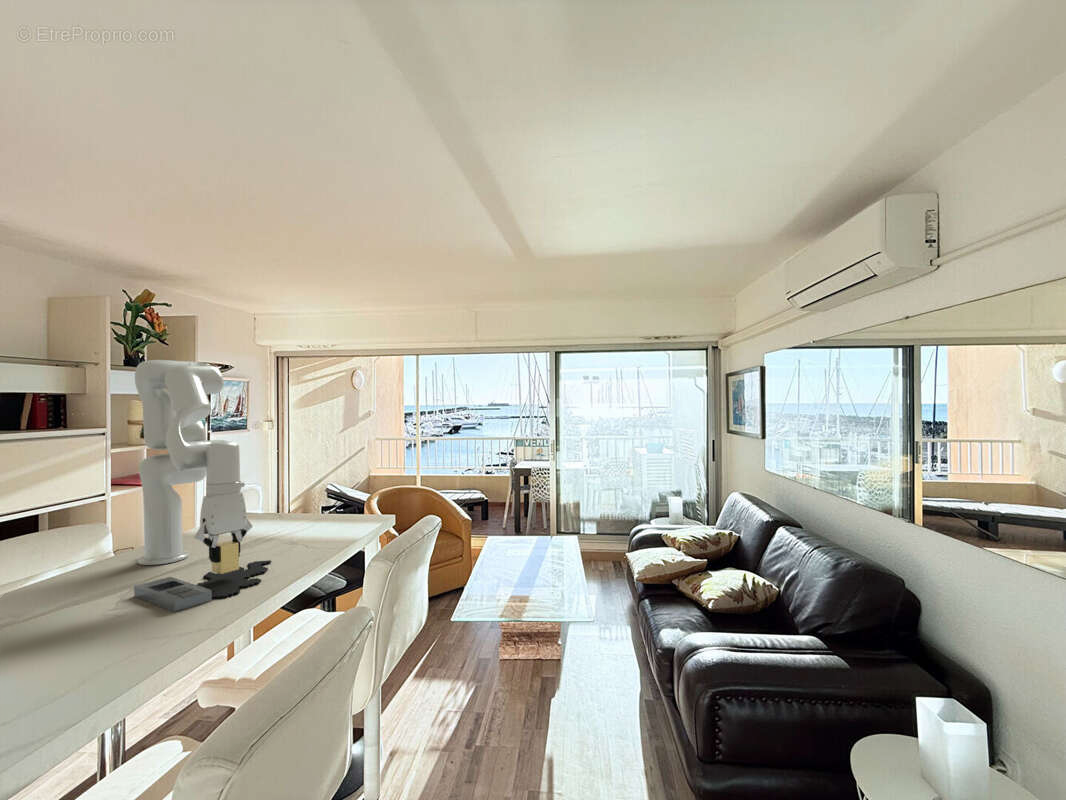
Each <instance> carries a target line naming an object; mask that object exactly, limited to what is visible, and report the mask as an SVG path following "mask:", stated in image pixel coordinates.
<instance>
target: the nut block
mask: <svg viewBox="0 0 1066 800" xmlns="http://www.w3.org/2000/svg"><path fill="white" fill-rule="evenodd" d="M217 547H219V562H218V563H214V562H211V572H212V573H215V574H216V573H219V574H223V573H227V572H231V571H234V570H238V569H239V567H240V557H239V547H238V542H234V541H232V540H225V541H221V542H218V543H217Z"/></svg>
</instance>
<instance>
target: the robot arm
mask: <svg viewBox="0 0 1066 800" xmlns="http://www.w3.org/2000/svg"><path fill="white" fill-rule="evenodd" d="M134 384H135V387H136V390H137V393H138V395H139V398H140V402H141V404H142V419H143V421H142V423H143V425H142V426H143V439H144V444H145V446H146V448H147V449H150V450H153V451H161V450H164V451H166V450H167V451H168V453H163V454H155V455H154V454H153V455H150V456H147V457H146V458H144V459H143V460H142V461H141V462H140V464H139V466H138V473H139V479H140V483H141V489H142V497H143V498H142V499H143V536H144V537H143V543H144V545H143V548H144V549H143V550H144V553H143V554H144V555H143V556H140V557H139V558H138V560H137V563H138V564H139V565H140V566H141V565H142V566H157V565H164V564H171V563H175V562H179V561H182V560H184V559H186V558H188V557H189V556H190V555H189V554H190V552H189V551H188V550H184V549H183V548H184V547H183V504H182V503H183V502H182V501H183V500H182V497H181V496H180V494H179V493H178V492H177V490H175V489H174V488H173V486H177V485H184V484H192V483H197V482H201V481H203V480H204V479H205V478H206V495H205V496H203V498H202V501H201V507H200V515H199V529H198V530H197V531H196V533H195V535H194V536H193V537H194V539H195V540H197V541H199V542H202V543H203V544H204V545H206V547H208V558H209V560H210V562H211V563H212V562H214V563H218V562H219V547H217V543H219V542H218V541H219V538H220V536H221V535H225V534H230V535H231V539H232V540H231V541H234V542H238V547H239V558H240V553H241V542H242V541H243V539H244V537H245V536H246V534H247V533H248V532H249V531H250V530H251V529H252V528H253V524H252V522H250V521H249V519H248V517H247V507H246V501H245V496H244V493H243V492H241V491H242V490H241V489H242V488H245V485H246V484H245V482H241V470H240V469H241V463H240V462H241V461H240V457H241V456H240V445H239V444H238V442H237V441H227V440H223V439H214V440H207V433H206V428H205V426H204V423H203V422H202V421H203V420H204V419H206V418H208V416H209V415H210V413H211V412H212V406H211V403H210V400H209V398H208V396H207V395H217V394H219V393H220V392H221V391H222V390H223V388H224V377H223V374H222V372H221V371H220V370H219V369H218V368H217V367H216V366H214V365H212V364H207V363H204V362H200V361H189V360H173V359H172V360H169V359H167V360H166V359H152V360H151V359H150V360H144V361H141V362H140V363H139V364H138V365H137V366H136V368H135V373H134ZM166 389H167V390H166ZM205 535H207V537H206V536H205Z"/></svg>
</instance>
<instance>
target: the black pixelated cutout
mask: <svg viewBox="0 0 1066 800" xmlns="http://www.w3.org/2000/svg"><path fill="white" fill-rule="evenodd" d="M271 563H272V560H271V559H269V560H259V561H258V560H257V561H253V562H248V564H247V565H246V566H247V568H246V569H245V567H242V566H239V569H238V570H234V571H231V572H227V573H223V574H219V573H216V572H212V571H208V572H207V573H206V574H204V575H203V576H202V578H203V580H204V581H203V582H199V583H196V585H198V586H201V587H204V588H207V589H210V590H212V601H213V600H223V599H224V600H225V599H228V598H230V597H231V598H232V597H234V596H238V595H239V594H241V589H249V588H251V587H252V588H253V587H255V586H259V585H260V583H262V578H258V577H256V576H260V575H265V574H266V573H267V572H268V571H269V567H266V566H267V565H271ZM205 580H206V581H205Z"/></svg>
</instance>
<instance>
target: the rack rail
mask: <svg viewBox="0 0 1066 800" xmlns="http://www.w3.org/2000/svg"><path fill="white" fill-rule="evenodd" d="M133 597H135V598H138V599H139V600H143V601H145V602H148V603H151V604H153V605H155V606H158V607H161V608H163V609H165V610H168V611H169V612H173V613H176V612H180V611H184V610H186V609H189V608H193V607H196V606H199V605H203V604H206V603H209V602H212V601H213V600H212V590H210V589H207V588H204V587H201V586H198V585H197V584H193V583H191V582H188V581H185V580H181V579H178V578H176V577H172V576H168V577H165V578H161V579H156V580H152V581H148V582H145V583H140V584H138V585H137V584H136V585H134V586H133Z"/></svg>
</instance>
